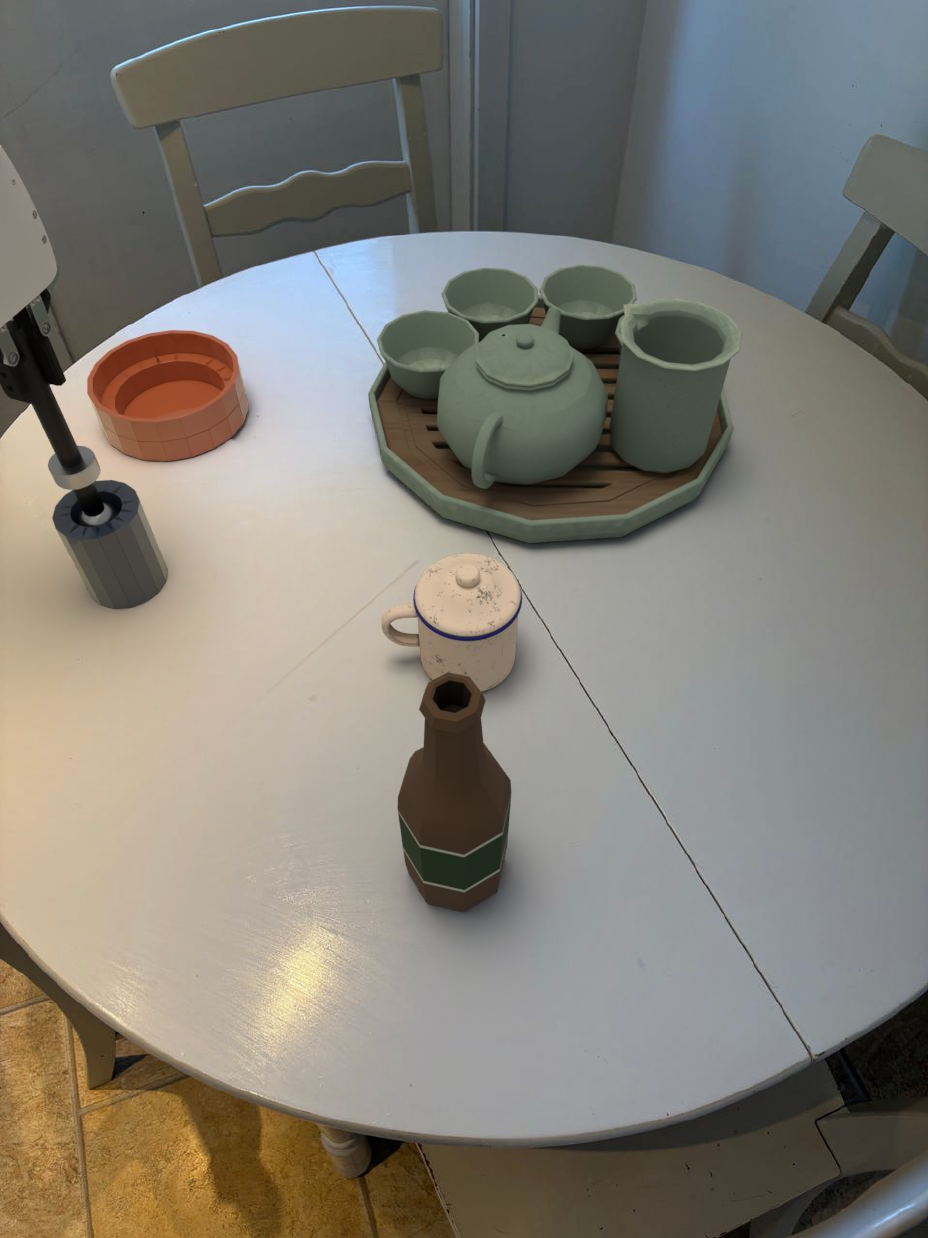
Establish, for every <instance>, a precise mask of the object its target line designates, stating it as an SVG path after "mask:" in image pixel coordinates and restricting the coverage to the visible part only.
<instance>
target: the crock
mask: <svg viewBox="0 0 928 1238" xmlns="http://www.w3.org/2000/svg"><path fill="white" fill-rule="evenodd" d="M94 484H95V487H96V489H97V491H98V493H99V495H100V498H101V500H102V502H106V503H109V504H111V505H113V506H114V507H115V508H116V509H117V510H118V511H119V512H120V513H119V514H118V515H117V517H116V518H114V519H113V520H112V521H110V522H109V523H107V524H104V525H101V526H98V527H84V526H79V525H78V524H77V520H78V515H79V513H80V511H81V510H82V508H81V506H80V504H79V502H78V500H77V497H76V495H75V493H74V491H73V490H70V491H68V492H67V493H65V494H64V495H63V496H62V497H61V499H60V500H59V501H58V502H57V503H56V505H55V506H54V510H53V514H52V517H51V519H52V522H53V525H54V528H55V530H56V532H57V534H58V536H59V538H60V540H61V541H62V543H63V546H64V547H65V549H66V551H67V554H68V555H69V557H70V559H71V561H72V562H73V564H74V566H75V568H76V570H77V572H78V574H79V577H80V578H81V580H82V582H83V583H84V586H85V588H86V589H87V591H88V593H89V595H90V597H91V598H92V600H94V601H95V602H96V603H98V604H99V605H100V606H103V607H106V608H109V609H115V610H124V609H125V610H126V609H131V608H134V607H138V606H141V605H143V604H145V603H148V602H149V601H151V600H152V599H154V597H156V596H157V595H158V594H159V593H160V592H161V590H163V588H164V587H165V585H166V582H167V579H168V571H169V570H168V566H167V564H166V561H165V559H164V557H163V554H162V552H161V549H160V547H159V544H158V542H157V539H156V537H155V535H154V532H153V530H152V527H151V524H150V522H149V520H148V517H147V514H146V513H145V510H144V507H143V505H142V502H141V500H140V497H139V495H138V493H137V491H136V490H135V489H134V488H133V487H132V486H130V485H129V484H127V483H126V482H123V481H118V480H114V479H106V480H105V479H104V480H96V481H95V482H94Z"/></svg>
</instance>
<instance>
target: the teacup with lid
mask: <svg viewBox="0 0 928 1238" xmlns="http://www.w3.org/2000/svg"><path fill="white" fill-rule="evenodd" d="M412 597H413V598H412V599H413V601H412V602H413V603H406V604H397V605H395V606H392V607H390V608H387V610H385V611H384V613H383V614H382V616H381V622H380V623H381V624H380V625H381V631H382V633H383V634H384V636H385V637H386V638H387V639H388V640H389V641H391V642H392V643H394V644H396V645H398V646H402V647H409V648H410V647H412V648H413V647H414V648H415V647H417V648H419V655H420V662H421V666H422V668H423V670H424V672H425V674H426V675H427V676H428V677H429V679H431V681H432V680H434V679H436V678H438V677H440V676H442V675H443V674H445V673H447V672H449V673H454V674H459V675H464V676H469V677H470V678H471V679H472V680H473V682H474V683H475V684H476V686H477V687H478V688H479V690H480V691H481V692H485V691H488V690H491V689H493V688H495V687H496V686H498V685H499V684H501V683H502V682H503V681H504V680H505V679H506V678H507V677H508V676H509V674H511V671H512V670H513V667H514V664H515V661H516V653H517V651H516V650H517V638H518V637H517V636H518V625H519V614H520V612H521V609H522V604H523V592H522V588H521V586H520V583H519V580H518V579H517V577H516V575H515V574H514V572H513V571H512V570H511V569H509V568H508V567H507V566H506V565H505V564H503V563H502V562H500V560H497V559H495V558H493V557H491V556H488V555H484V554H480V553H457V554H451V555H449V556H445V557H442V558H441V559H439V560H436V561H435V562H433V563H432V564H430V565H429V566H428V567H427V568H426V569H425V570H424V571H423V573H422V574H421V575H420V577H419V578H418V580H417V582H416V585H415V587H414V590H413V596H412ZM415 618H416V619H417V627H418V633H409V632H408V633H407V632H402V631H401V630H400V631H399V630H397V629H396V628H395V627H393V625H392V623H393V622H395V621H397V620H401V619H415Z"/></svg>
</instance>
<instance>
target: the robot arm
mask: <svg viewBox="0 0 928 1238" xmlns="http://www.w3.org/2000/svg"><path fill="white" fill-rule="evenodd" d="M16 169H17V168H15V165H14V164H13V162H12V160H11V159H10V157H9V156H8V154H7V153H6V151H5V149H4V148H3V146H2V145H1V144H0V387H1V389H2V390H3V392H4V394H5V395H6V396H7V398H9V399H11V400H14V401H19V402H22V403H27V404H29V405H32V404H33V405H37V406H41V405H42V404H43V403H44V402H45V401H46V397H45V395H44V392H43V390H42V388H41V386H40V383H39V381H38V379H37V377H36V374H35V372H34V370H33V368H32V365H31V363H30V361H29V360H28V359H27V358H25V357H21V356H19V353H18V351H17V349H16V346H15V344H14V342H13V340H12V338H11V336H10V333H9V331H8V329H7V327H6V325H5V323H7V322H8V321H11V320H15V321H19V322H21V324H22V325H23V328H24V330H25V332H26V334H27V336H28V339H29V341H30V343H31V345H32V348H33V350H34V352H35V354H36V356H37V359H38V361H39V363H40V365H41V367H42V370H43V372H44V374H45V376H46V378H47V381H48V383H49V385H52V386H56V387H59V386H60V387H61V386H63V385H64V384H65V383H66V382H67V378H66V376H65V373H64V371H63V368H62V366H61V364H60V361H59V359H58V357H57V355H56V352H55V350H54V347H53V345H52V342H51V340H50V338H49V336H50V335H51V334H52V331H53V324H52V322H51V318H50V317H49V313H50V312H49V311H50V307H51V306H50V305H51V301H52V300H51V299H52V296H51V295H52V294H53V293H54V290H55V288H56V286H57V284H58V282H59V280H60V278H61V274H62V273H61V269H60V267H59V266H58V265H57V260H56V257H55V253H54V250H53V247H52V244H51V241H50V238H49V236H48V234H47V231H46V228H45V226H44V224H43V221H42V219H41V217H40V215H39V212H38V211H37V207H36V205H35V204H34V202H33V200H32V197H31V195H30V193H29V191H28V189H27V188H26V186H25V184H24V182H23V180H22V178H21V176H20V174H19V172H18V171H17V170H16Z"/></svg>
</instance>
